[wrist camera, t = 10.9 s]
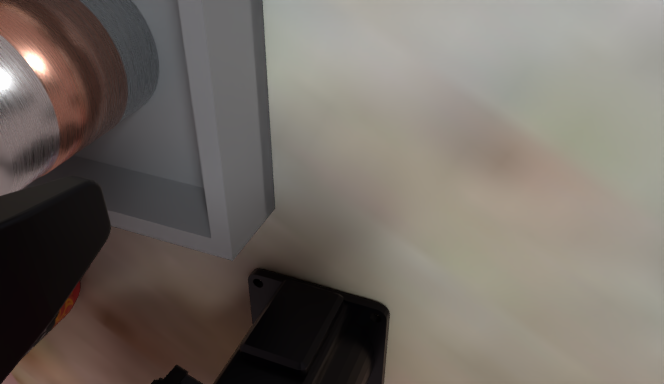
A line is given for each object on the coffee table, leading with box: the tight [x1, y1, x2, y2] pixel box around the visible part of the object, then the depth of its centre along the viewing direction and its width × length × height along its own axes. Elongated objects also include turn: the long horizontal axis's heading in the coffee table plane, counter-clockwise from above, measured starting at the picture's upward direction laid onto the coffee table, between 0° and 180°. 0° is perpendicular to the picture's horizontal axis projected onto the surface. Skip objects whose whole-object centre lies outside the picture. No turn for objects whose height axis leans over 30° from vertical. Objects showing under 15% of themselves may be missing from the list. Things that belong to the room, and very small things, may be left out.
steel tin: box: [0, 0, 159, 196], centre depth 20 cm, size 6×6×7 cm
